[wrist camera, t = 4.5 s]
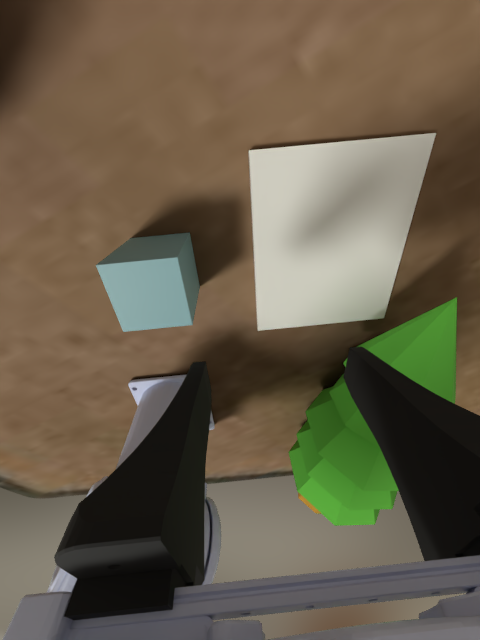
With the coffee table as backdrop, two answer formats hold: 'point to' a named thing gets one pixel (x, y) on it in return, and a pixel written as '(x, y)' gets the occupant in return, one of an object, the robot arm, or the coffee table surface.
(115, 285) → the teal block
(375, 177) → the off-white tile
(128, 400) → the coffee table surface
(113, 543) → the robot arm
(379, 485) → the decorative tree
